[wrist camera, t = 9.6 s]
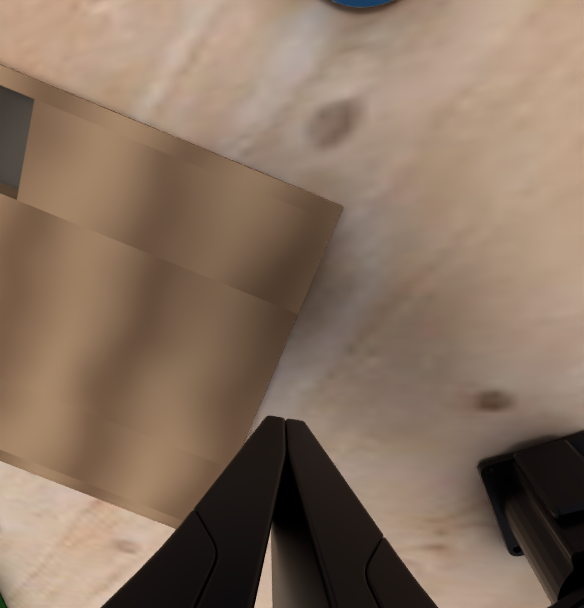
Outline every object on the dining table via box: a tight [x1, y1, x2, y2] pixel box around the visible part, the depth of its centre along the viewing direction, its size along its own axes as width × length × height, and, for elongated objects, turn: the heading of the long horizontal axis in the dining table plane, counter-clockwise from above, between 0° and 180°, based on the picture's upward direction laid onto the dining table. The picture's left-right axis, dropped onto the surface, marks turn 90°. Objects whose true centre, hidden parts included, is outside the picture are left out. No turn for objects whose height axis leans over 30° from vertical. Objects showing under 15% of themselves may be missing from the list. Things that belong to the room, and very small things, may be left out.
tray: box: [0, 64, 343, 529], centre depth 20 cm, size 27×20×4 cm
